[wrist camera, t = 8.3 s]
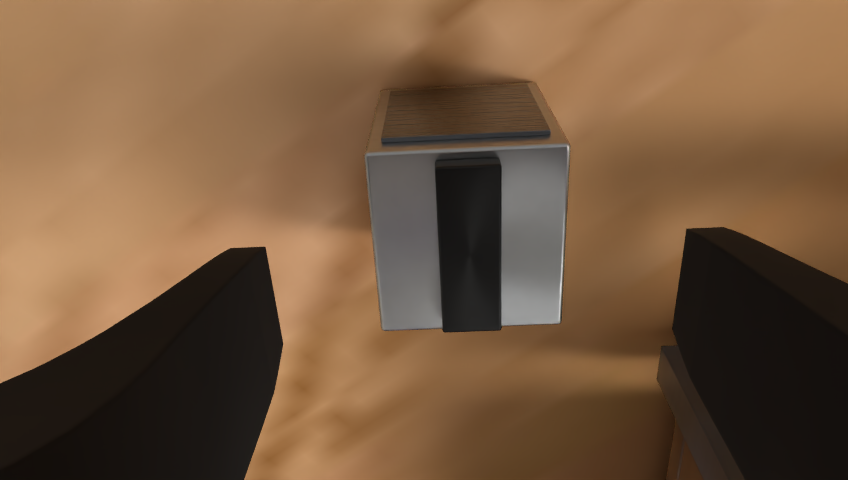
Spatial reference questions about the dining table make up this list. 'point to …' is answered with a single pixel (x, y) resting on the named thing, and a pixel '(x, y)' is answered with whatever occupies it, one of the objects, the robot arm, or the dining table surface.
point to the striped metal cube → (467, 207)
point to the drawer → (692, 427)
